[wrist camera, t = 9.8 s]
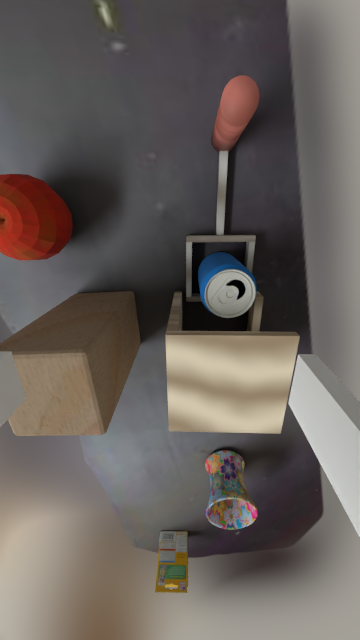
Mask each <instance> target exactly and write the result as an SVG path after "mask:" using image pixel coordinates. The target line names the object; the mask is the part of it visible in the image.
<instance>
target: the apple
mask: <svg viewBox="0 0 360 640" xmlns="http://www.w3.org/2000/svg"><path fill="white" fill-rule="evenodd" d="M72 229H73V222H72V215H71V212H70V210H69V208H68V207H67V205H66V203H65V202H64V200H63V199H62V198H61V197H60V196H59V195H58V194H57V193H56V192H55V191H53V190H52V189H51V188H50V187H49V186H48V185H47V184H46V183H45V182H44V181H42V180H40V179H37V178H34V177H32V176H29V175H22V174H6V175H0V252H1V253H3V254H4V255H6V256H9V257H12V258H15V259H17V260H40V259H48V258H50V257H52V256H54V255H56V254H58V253H59V252H60V251H61V250H62V249H63V248H64V247H65V245H66V244H67V243H68V241H69V240H70V239H71V236H72Z"/></svg>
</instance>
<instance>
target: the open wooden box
mask: <svg viewBox="0 0 360 640" xmlns="http://www.w3.org/2000/svg"><path fill="white" fill-rule="evenodd" d="M263 298H264V297H263V296H262V295H261V294H260V293H259V292H256V296H255V299H254V302H253V304H252V305H251V307H250V308H249V313H248V323H247V331H182V292H174V297H173V302H172V307H171V311H170V316H169V321H168V326H167V330H166V362H167V390H168V417H169V431H192V432H235V433H278V434H281V429H282V424H283V419H284V414H285V409H286V404H287V399H288V394H289V389H290V384H291V379H292V374H293V369H294V364H295V359H296V353H297V348H298V343H299V338H300V336H299V335H298V333H297V332H259V329H260V322H261V314H262V306H263Z"/></svg>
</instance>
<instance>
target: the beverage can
mask: <svg viewBox="0 0 360 640" xmlns="http://www.w3.org/2000/svg"><path fill="white" fill-rule="evenodd" d="M198 281H199V288H200V295H201V300H202V302H203V304H204V306H205V307H206V308H207V309H208V310H209V311H210V312H211V313H213V314H214V315H217V316H220V317H223V318H233V317H237V316H240V315H242V314H243V313H245V312H246V311H247V310H248V309H249V308H250V307H251V305H252V304H253V302H254V299H255V296H256V291H257V286H256V281H255V278H254V276H253V275H252V273H251V272H250V271H249V270H248V269H247V268H246V267H245V266H243V265H242V264H241V263H240V262H239V261H238V260H237V259H235V258H234V257H233V256H232V255H230V254H228V253H225V252H215V253H212V254H210V255H208V256H207V257H206V258H204V260H203V261H202V262H201V264H200V266H199V269H198Z"/></svg>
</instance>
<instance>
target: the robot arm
mask: <svg viewBox="0 0 360 640" xmlns="http://www.w3.org/2000/svg"><path fill="white" fill-rule="evenodd" d="M25 400H26V397H25V394H24V391H23V387H22V384H21V381H20V378H19V375H18V372H17V368H16V365H15V362H14V359H13V356H12V353H11V351H0V427H1V426H2V425H3V424H4V423H5V421H6V420H7V419H8V418H9V417H10V416H11V415H12V414H13V413H14V412H15V411H16V409H17V408H18V407H19V406H20V405H21V404H22V403H23V402H24V401H25ZM288 404H289V406H290V407H291V409H292V411H293V413H294V415H295V417H296V419H297V421H298V422H299V424H300V426H301V428H302V430H303V432H304V434H305V436H306V437H307V439H308V441H309V443H310V445H311V447H312V449H313V451H314V452H315V454H316V456H317V458H318V460H319V462H320V464H321V466H322V467H323V469H324V471H325V473H326V475H327V477H328V479H329V481H330V482H331V484H332V486H333V488H334V490H335V492H336V494H337V496H338V497H339V499H340V501H341V503H342V505H343V507H344V509H345V511H346V513H347V514H348V516H349V518H350V520H351V522H352V524H353V526H354V528H355V529H356V531H357V533H358V535H359V537H360V402H359V400H357V398H356V397H355V396H354V395H353V394H352V393H351V392H350V391H349V390H348V389H347V388H346V386H345V385H344V384H343V383H342V382H341V381H340V380H339V379H338V378H337V377H336V376H335V375H334V374H333V372H332V371H331V370H330V369H329V368H328V367H327V366H326V365H325V364H324V363H323V362H322V361H321V359H320V358H318V356H317V355H314V354H298V358H297V363H296V368H295V373H294V378H293V383H292V388H291V393H290V398H289V403H288Z"/></svg>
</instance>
